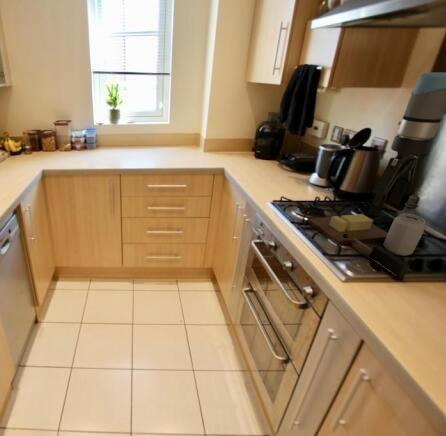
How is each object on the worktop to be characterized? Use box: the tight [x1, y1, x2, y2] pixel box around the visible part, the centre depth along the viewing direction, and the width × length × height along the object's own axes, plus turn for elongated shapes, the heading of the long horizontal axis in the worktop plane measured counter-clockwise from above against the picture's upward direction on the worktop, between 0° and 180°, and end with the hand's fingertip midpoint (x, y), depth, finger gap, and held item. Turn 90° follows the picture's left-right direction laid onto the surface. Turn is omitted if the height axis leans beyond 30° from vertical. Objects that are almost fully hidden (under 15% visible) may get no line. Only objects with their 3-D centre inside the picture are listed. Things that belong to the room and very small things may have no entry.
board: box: [306, 215, 388, 246], centre depth 112 cm, size 16×20×2 cm
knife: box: [350, 238, 411, 281], centre depth 95 cm, size 18×2×5 cm, turn 6°
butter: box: [340, 213, 374, 231], centre depth 111 cm, size 5×8×4 cm, turn 96°
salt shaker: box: [396, 193, 421, 217], centre depth 114 cm, size 6×6×12 cm
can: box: [382, 213, 427, 257], centre depth 98 cm, size 8×8×12 cm
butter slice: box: [329, 215, 348, 232], centre depth 111 cm, size 5×2×4 cm, turn 6°
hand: (383, 208), depth 93 cm, fingers open, 13 cm apart
